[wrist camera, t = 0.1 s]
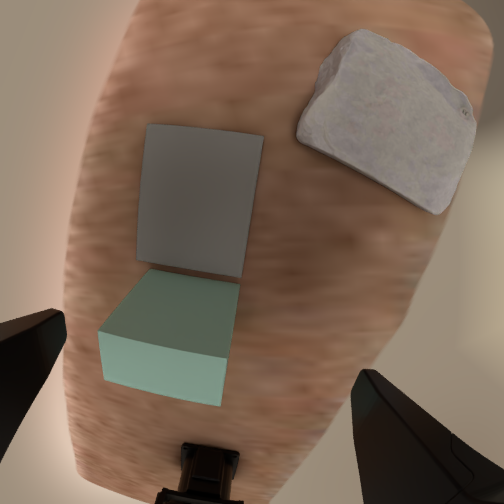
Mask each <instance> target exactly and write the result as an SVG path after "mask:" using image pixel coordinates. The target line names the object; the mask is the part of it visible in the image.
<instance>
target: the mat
mask: <svg viewBox="0 0 504 504" xmlns="http://www.w3.org/2000/svg"><path fill="white" fill-rule="evenodd" d="M263 139H264V136H259V135H253V134H246V133H239V132H231V131H224V130H215V129H207V128H197V127H187V126H176V125H163V124H147V129H146V137H145V145H144V154H143V163H142V172H141V183H140V195H139V209H138V226H137V249H136V260H139V261H145V262H150V263H156V264H162V265H167V266H173V267H179V268H184V269H190V270H196V271H202V272H208V273H214V274H220V275H226V276H232V277H238V278H241V277H242V271H243V264H244V258H245V251H246V245H247V239H248V232H249V226H250V220H251V214H252V207H253V201H254V195H255V189H256V182H257V176H258V170H259V164H260V158H261V151H262V145H263Z"/></svg>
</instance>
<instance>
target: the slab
mask: <svg viewBox="0 0 504 504" xmlns="http://www.w3.org/2000/svg"><path fill="white" fill-rule="evenodd" d="M239 290H240V284H237V283H230V282H224V281H218V280H212V279H206V278H200V277H195V276H189V275H183V274H177V273H172V272H166V271H161V270H155V269H149V270H148V271H147V273H146V274H145V275H144V276H143V277H142V278H141V279H140V281H139V282H138V283H137V284H136V285H135V286H134V288H133V289H132V290H131V291H130V292H129V293H128V295H127V296H126V297H125V298H124V299H123V301H122V302H121V303H120V304H119V305H118V307H117V308H116V309H115V310H114V311H113V313H112V314H111V315H110V316H109V317H108V319H107V320H106V321H105V322H104V323H103V325H102V326H101V327H100V328H99V330H98V338H99V347H100V354H101V361H102V368H103V374H104V380H107V381H110V382H114V383H117V384H121V385H124V386H128V387H132V388H135V389H139V390H143V391H147V392H151V393H155V394H160V395H164V396H168V397H173V398H178V399H182V400H187V401H192V402H198V403H203V404H209V405H214V406H221V400H222V394H223V388H224V382H225V376H226V370H227V364H228V358H229V352H230V346H231V340H232V334H233V328H234V322H235V316H236V309H237V303H238V296H239Z"/></svg>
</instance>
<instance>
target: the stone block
mask: <svg viewBox="0 0 504 504" xmlns="http://www.w3.org/2000/svg"><path fill="white" fill-rule="evenodd" d="M472 113H473V108H472V106H471V104H470V102H469V100H468V98H467V96H466V95H465V94H464V93H463V92H462V91H460V90H458V89H456V88H454V87H453V86H452V85H451V84H450V82H449V81H448V79H447V78H446V77H445V76H444V75H443V74H442V73H441V72H440V71H439V70H437V69H436V68H435V67H434V66H432V65H431V64H429V63H428V62H426V61H425V60H423V59H420V58H419V57H418V56H417V55H416V54H414V53H413V52H412V51H411V50H409V49H407V48H405V47H403V46H401V45H399V44H396V43H392V42H390V41H389V39H388V38H384V37H382V36H380V35H377V34H375V33H373V32H370V31H368V30H366V29H360V30H357V31H355V32H352V33H351V34H349V35H348V36H345V37H344V38H342V39H341V40H340V41H339V43H338V44H337V45H336V47H335V48H334V49H333V51H332V52H331V53H330V55H329V56H328V57H327V58H325V60H324V62H323V63H322V64H321V66H320V70H319V74H318V78H317V81H316V82H315V93H314V94H313V96H312V98H311V100H310V101H309V103H308V106H307V107H306V108H305V109H304V111H303V113H302V115H301V118H300V120H299V122H298V126H297V132H296V138H297V139H298V141H299V142H300V143H302V144H304V145H306V146H309V147H311V148H313V149H315V150H316V151H319V152H321V153H323V154H325V155H327V156H329V157H331V158H333V159H335V160H337V161H339V162H340V163H342V164H344V165H346V166H348V167H350V168H352V169H354V170H355V171H357V172H359V173H361V174H363V175H365V176H366V177H368V178H370V179H372V180H374V181H375V182H377V183H379V184H381V185H383V186H384V187H386V188H388V189H390V190H391V191H393V192H395V193H396V194H398V195H399V196H401V197H402V198H404V199H406V200H407V201H409V202H411V203H412V204H414V205H415V206H417V207H419V208H420V209H422V210H424V211H426V212H429V213H431V214H434V215H439V214H440V213H442V212H443V211H444V210H445V209H446V207H447V206H448V205H449V204H450V202H451V199H452V196H453V194H454V192H455V190H456V187H457V184H458V182H459V180H460V177H461V175H462V172H463V170H464V168H465V165H466V163H467V161H468V159H469V156H470V154H471V151H472V147H473V143H474V138H475V132H476V121H475V119H474V117H473V115H472Z"/></svg>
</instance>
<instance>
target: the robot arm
mask: <svg viewBox="0 0 504 504" xmlns="http://www.w3.org/2000/svg"><path fill="white" fill-rule="evenodd" d="M66 338H67V331H66V324H65V316H64V313H63V312H62V311H60V310H56V309H53V308H51V309H47V310H44V311H40V312H37V313H33V314H30V315H27V316H23V317H20V318H16V319H13V320H10V321H6V322H3V323H0V463H1V460H2V458H3V456H4V454H5V452H6V451H7V448H8V447H9V444H10V443H11V441H12V439H13V437H14V435H15V433H16V431H17V429H18V427H19V426H20V424H21V422H22V420H23V419H24V417H25V415H26V413H27V412H28V410H29V408H30V406H31V405H32V403H33V401H34V400H35V398H36V396H37V394H38V393H39V391H40V389H41V388H42V386H43V384H44V383H45V381H46V379H47V378H48V376H49V374H50V372H51V370H52V367H53V366H54V364H55V361H56V359H57V357H58V355H59V353H60V351H61V349H62V347H63V345H64V343H65V341H66ZM351 407H352V424H353V439H354V445H355V451H356V456H357V463H358V469H359V475H360V482H361V488H362V495H363V502H364V504H504V469H503V468H501V467H499V466H498V465H496V464H495V463H493V462H492V461H490V460H489V459H487V458H486V457H484V456H483V455H481V454H480V453H478V452H477V451H475V450H474V449H473V448H471V447H470V446H469V445H467V444H466V443H465V442H463V441H462V440H461V439H460V438H458V437H457V436H456V435H455V434H453V433H452V434H451V431H449V430H448V429H447V428H446V427H444V426H443V425H442V424H441V423H440V422H438V421H437V420H436V419H435V418H433V417H432V416H431V415H430V414H429V413H427V412H426V411H425V410H424V409H422V408H421V407H420V406H419V405H417V404H416V403H415V402H414V401H413V400H411V399H410V398H409V397H408V396H406V395H405V394H404V393H403V392H402V391H400V390H399V389H398V388H397V387H395V386H394V385H393V384H392V383H391V382H389V381H388V380H387V379H386V378H384V377H383V376H382V375H381V374H380V373H378V372H377V371H376V370H373V369H362V370H361V371H360V373H359V375H358V377H357V379H356V381H355V383H354V386H353V388H352V390H351ZM239 455H240V454H239V453H238V452H234V451H227V450H220V449H214V448H208V447H202V446H196V445H191V444H186V443H184V444H182V447H181V470H182V473H181V478H180V482H179V486H178V491H174V490H169V489H168V488H164V487H163V489H162V491H161V492H158V494H157V497H156V501H155V504H244V501H240V500H239V501H234V500H230V492H231V482H232V480H233V479H234V476H235V472H236V468H237V464H238V460H239Z"/></svg>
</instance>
